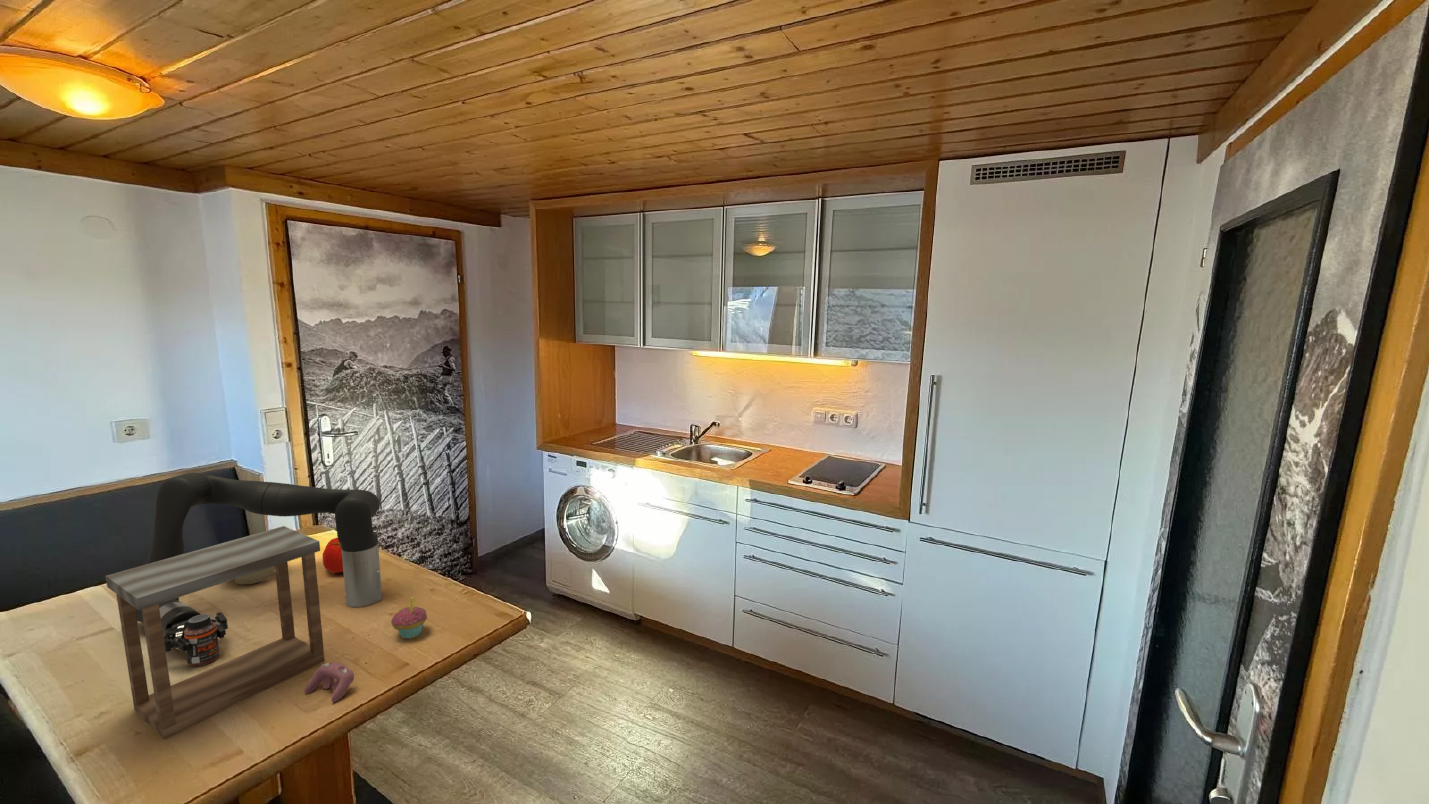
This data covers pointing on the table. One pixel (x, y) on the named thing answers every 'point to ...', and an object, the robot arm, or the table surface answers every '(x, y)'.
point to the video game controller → (332, 679)
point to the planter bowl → (256, 576)
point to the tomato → (333, 556)
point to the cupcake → (409, 620)
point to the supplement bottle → (201, 640)
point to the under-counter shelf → (240, 675)
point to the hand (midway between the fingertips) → (205, 640)
